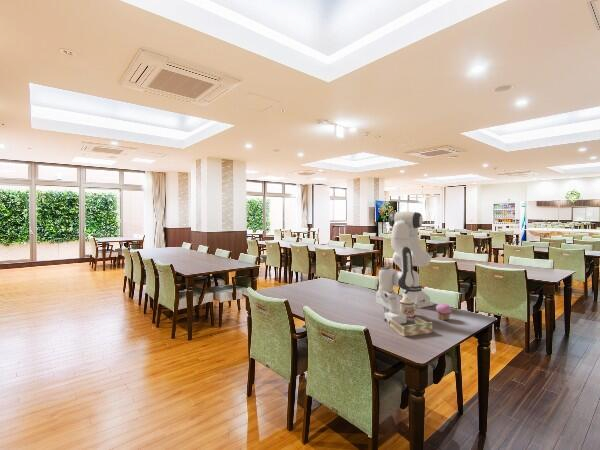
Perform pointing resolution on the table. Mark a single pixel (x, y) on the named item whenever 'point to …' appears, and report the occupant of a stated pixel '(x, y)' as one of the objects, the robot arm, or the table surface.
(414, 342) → the table surface
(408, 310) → the teacup with lid
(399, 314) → the trolley
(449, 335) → the table surface
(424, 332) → the bay
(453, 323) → the table surface
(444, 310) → the cupcake
